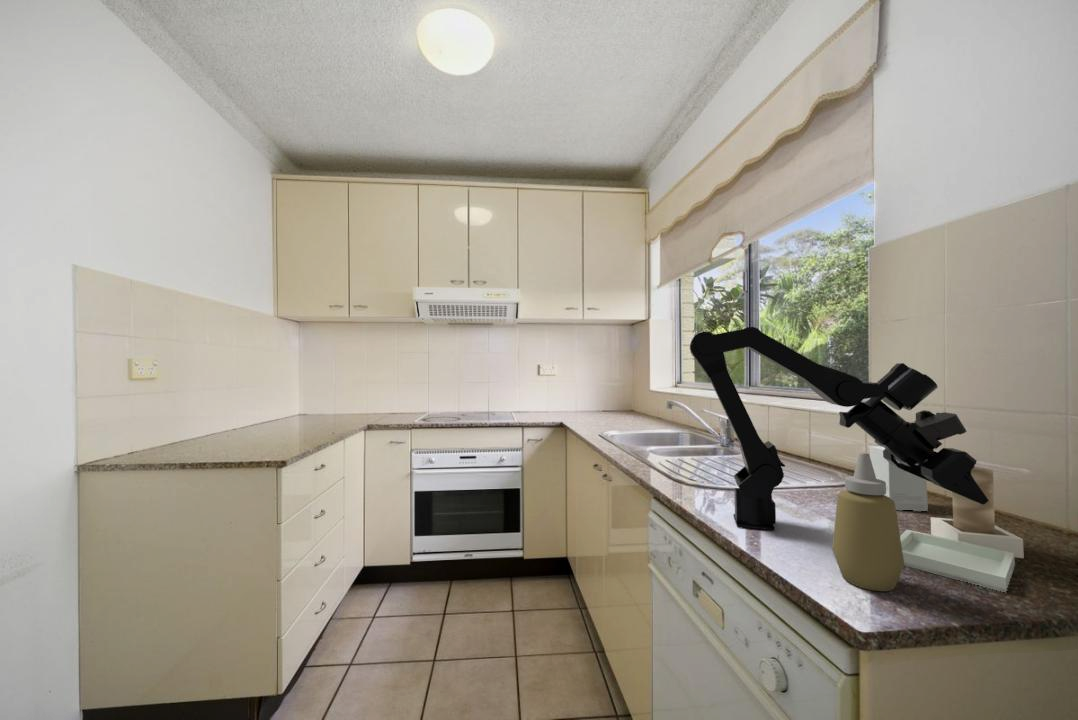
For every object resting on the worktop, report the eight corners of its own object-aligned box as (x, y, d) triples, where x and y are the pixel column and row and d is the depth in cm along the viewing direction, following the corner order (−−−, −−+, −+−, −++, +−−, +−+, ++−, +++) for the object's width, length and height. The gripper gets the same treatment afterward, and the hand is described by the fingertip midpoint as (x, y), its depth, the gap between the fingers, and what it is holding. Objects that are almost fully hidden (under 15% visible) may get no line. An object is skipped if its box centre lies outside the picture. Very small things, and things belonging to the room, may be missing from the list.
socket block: (958, 551, 70) (957, 533, 71) (931, 533, 78) (930, 517, 78) (1023, 558, 68) (1023, 539, 68) (988, 539, 76) (988, 521, 76)
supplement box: (929, 512, 90) (927, 452, 91) (889, 510, 92) (887, 450, 92) (906, 502, 97) (905, 446, 98) (869, 500, 99) (868, 445, 99)
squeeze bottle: (882, 602, 55) (879, 461, 56) (820, 575, 62) (817, 451, 63) (918, 589, 58) (914, 456, 59) (854, 565, 66) (851, 447, 66)
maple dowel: (964, 549, 71) (962, 470, 72) (947, 538, 76) (945, 464, 77) (1003, 553, 70) (1000, 472, 70) (983, 541, 75) (980, 466, 75)
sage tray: (1006, 593, 57) (1005, 578, 57) (887, 561, 67) (886, 548, 67) (1014, 566, 65) (1014, 553, 65) (907, 541, 75) (906, 529, 75)
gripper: (957, 400, 67) (1055, 476, 63) (899, 394, 85) (973, 453, 81) (898, 448, 69) (988, 524, 65) (854, 433, 87) (923, 492, 83)
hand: (967, 494), depth 73 cm, fingers open, 9 cm apart
